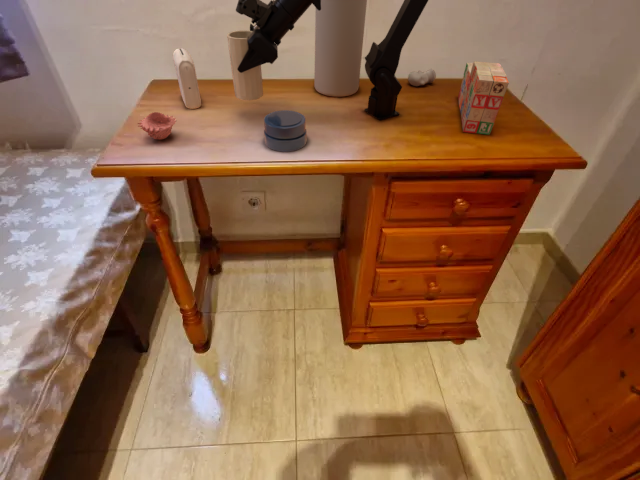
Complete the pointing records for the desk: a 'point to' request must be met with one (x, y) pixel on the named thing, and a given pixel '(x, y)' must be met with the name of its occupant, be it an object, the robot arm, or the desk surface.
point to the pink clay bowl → (157, 125)
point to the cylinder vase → (339, 46)
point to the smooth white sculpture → (421, 77)
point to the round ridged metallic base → (285, 130)
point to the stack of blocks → (481, 96)
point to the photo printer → (187, 78)
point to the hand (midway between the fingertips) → (239, 65)
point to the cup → (250, 80)
